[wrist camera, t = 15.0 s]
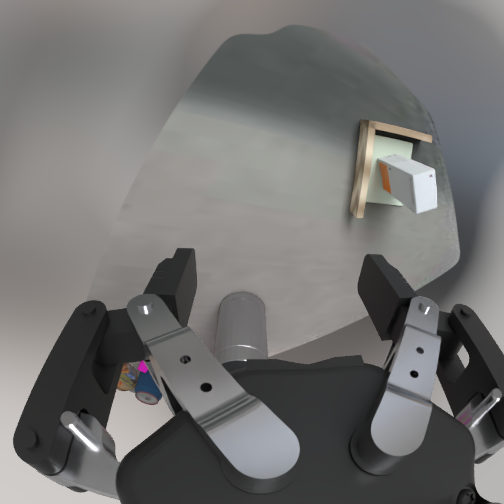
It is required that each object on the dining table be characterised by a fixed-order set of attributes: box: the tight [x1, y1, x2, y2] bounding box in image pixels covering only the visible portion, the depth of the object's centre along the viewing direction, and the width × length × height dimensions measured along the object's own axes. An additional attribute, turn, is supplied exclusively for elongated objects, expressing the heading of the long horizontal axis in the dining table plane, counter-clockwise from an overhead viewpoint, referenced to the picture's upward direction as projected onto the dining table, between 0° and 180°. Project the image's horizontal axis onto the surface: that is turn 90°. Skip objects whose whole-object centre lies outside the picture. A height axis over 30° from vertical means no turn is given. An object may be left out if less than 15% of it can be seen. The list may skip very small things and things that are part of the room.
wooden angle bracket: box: [350, 120, 432, 218], centre depth 41 cm, size 16×13×4 cm
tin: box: [117, 363, 137, 391], centre depth 62 cm, size 15×3×8 cm, turn 45°
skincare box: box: [378, 154, 437, 214], centre depth 37 cm, size 6×4×12 cm
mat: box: [366, 135, 413, 206], centre depth 42 cm, size 12×8×1 cm, turn 178°
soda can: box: [135, 370, 162, 405], centre depth 60 cm, size 7×7×12 cm
